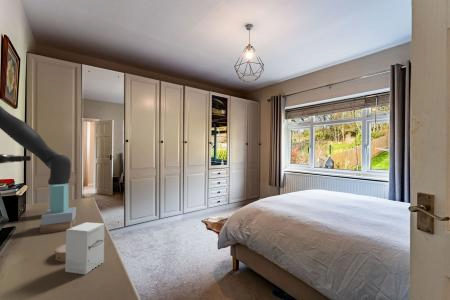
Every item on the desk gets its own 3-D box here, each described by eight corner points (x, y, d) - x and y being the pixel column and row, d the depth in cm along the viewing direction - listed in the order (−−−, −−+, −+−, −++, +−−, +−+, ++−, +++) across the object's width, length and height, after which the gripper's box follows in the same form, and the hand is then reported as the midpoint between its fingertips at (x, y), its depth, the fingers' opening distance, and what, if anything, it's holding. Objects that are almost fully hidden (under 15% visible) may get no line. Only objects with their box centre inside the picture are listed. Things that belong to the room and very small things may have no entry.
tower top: (48, 218, 104) (48, 209, 104) (76, 215, 109) (76, 207, 109) (41, 225, 94) (41, 215, 94) (72, 221, 99) (72, 212, 99)
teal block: (55, 209, 103) (55, 184, 103) (67, 209, 105) (67, 184, 105) (50, 213, 99) (50, 186, 98) (63, 212, 100) (63, 186, 100)
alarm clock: (53, 245, 77) (101, 228, 86) (56, 258, 77) (103, 239, 87) (54, 257, 68) (107, 236, 77) (57, 271, 69) (110, 249, 78)
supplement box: (85, 275, 63) (86, 231, 63) (64, 272, 65) (64, 229, 65) (104, 262, 70) (105, 223, 70) (85, 260, 72) (85, 221, 72)
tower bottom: (48, 226, 104) (48, 218, 104) (75, 223, 109) (75, 215, 109) (39, 234, 94) (39, 225, 94) (70, 230, 99) (70, 222, 99)
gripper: (-35, 150, 85) (19, 150, 91) (-13, 150, 98) (33, 150, 104) (-36, 169, 85) (19, 168, 91) (-14, 166, 98) (32, 166, 104)
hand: (26, 158), depth 98 cm, fingers open, 8 cm apart
